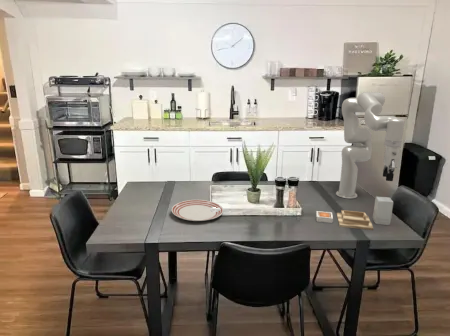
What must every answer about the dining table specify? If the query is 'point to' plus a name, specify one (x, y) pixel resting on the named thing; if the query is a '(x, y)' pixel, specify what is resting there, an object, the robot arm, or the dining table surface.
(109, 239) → the dining table surface
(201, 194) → the dining table surface
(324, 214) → the button
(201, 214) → the dinner plate
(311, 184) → the dining table surface
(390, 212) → the supplement box
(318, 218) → the button housing
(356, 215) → the pallet
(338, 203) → the dining table surface
